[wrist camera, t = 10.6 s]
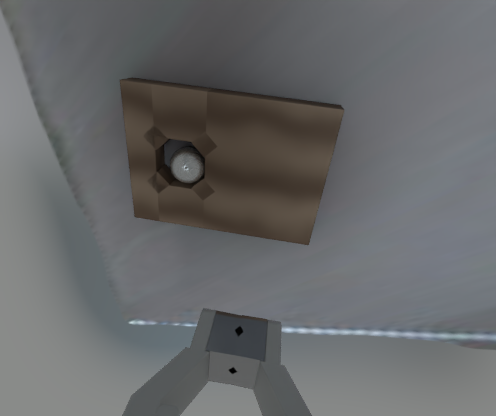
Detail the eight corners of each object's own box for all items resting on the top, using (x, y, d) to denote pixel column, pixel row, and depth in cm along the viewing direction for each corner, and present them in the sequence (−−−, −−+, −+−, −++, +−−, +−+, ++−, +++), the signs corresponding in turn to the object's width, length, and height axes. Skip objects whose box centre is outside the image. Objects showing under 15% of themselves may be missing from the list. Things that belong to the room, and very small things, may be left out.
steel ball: (166, 141, 32) (176, 155, 29) (200, 142, 34) (213, 155, 31) (165, 174, 34) (174, 190, 31) (197, 173, 36) (209, 188, 33)
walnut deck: (131, 77, 30) (119, 79, 28) (340, 105, 29) (344, 109, 27) (143, 207, 38) (134, 217, 36) (307, 233, 37) (308, 245, 35)
